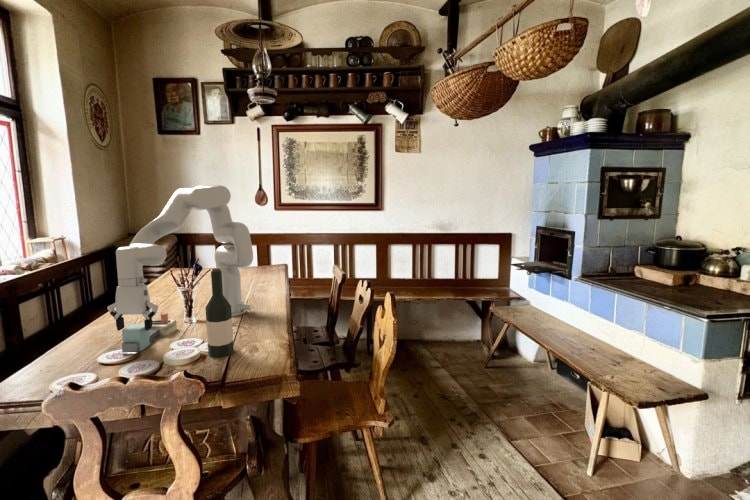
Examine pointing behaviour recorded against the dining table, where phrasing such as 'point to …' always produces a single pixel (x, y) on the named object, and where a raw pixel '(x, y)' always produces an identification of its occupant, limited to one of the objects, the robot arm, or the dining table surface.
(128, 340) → the carriage
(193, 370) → the dining table surface
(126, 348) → the rail
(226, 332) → the wine bottle
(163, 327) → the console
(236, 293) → the robot arm
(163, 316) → the orange clay brick
